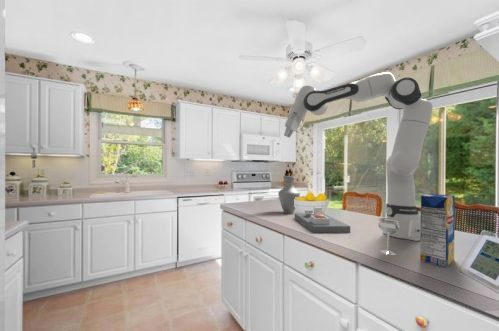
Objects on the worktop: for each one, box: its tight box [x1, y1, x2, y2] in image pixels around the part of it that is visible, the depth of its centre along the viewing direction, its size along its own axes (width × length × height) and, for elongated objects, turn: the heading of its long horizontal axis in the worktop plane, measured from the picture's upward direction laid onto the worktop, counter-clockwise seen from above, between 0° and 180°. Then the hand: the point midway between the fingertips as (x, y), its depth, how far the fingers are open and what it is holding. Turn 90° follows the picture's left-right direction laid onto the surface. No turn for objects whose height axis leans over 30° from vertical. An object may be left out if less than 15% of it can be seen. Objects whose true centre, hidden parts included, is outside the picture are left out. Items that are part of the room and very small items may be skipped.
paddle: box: [313, 206, 323, 214], centre depth 141 cm, size 4×2×4 cm, turn 96°
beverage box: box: [419, 193, 456, 268], centre depth 81 cm, size 7×11×22 cm, turn 129°
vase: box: [277, 175, 301, 214], centre depth 163 cm, size 14×14×25 cm
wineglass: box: [378, 217, 399, 256], centre depth 88 cm, size 7×7×12 cm
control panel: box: [294, 212, 351, 234], centre depth 130 cm, size 18×32×6 cm, turn 6°
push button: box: [315, 214, 325, 218], centre depth 120 cm, size 5×5×2 cm
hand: (286, 136), depth 138 cm, fingers open, 8 cm apart
